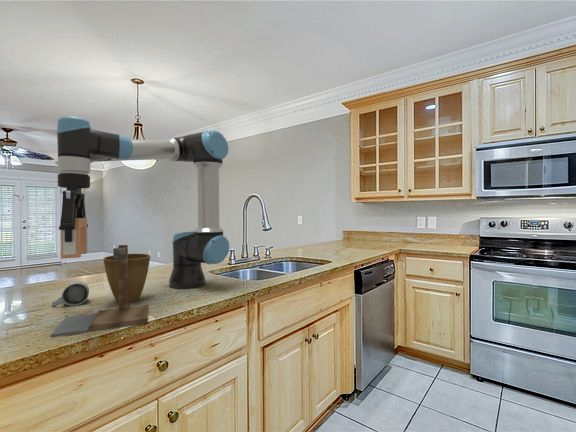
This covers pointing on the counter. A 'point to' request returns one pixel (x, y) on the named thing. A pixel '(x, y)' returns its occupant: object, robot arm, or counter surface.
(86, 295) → the ceramic mug
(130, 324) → the hook stand
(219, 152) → the robot arm
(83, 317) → the mat
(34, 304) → the counter surface
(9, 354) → the counter surface
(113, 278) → the plant pot
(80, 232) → the orange notched block
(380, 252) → the counter surface
